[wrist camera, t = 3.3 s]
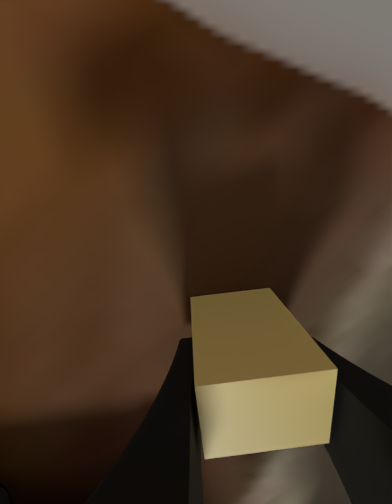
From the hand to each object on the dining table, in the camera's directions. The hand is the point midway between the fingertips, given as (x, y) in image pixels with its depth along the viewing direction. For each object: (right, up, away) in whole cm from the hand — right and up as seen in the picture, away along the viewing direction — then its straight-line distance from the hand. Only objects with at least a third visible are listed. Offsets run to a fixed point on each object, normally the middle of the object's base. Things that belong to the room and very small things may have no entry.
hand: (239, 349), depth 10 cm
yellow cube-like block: (0, 0, +1) cm, 1 cm away
